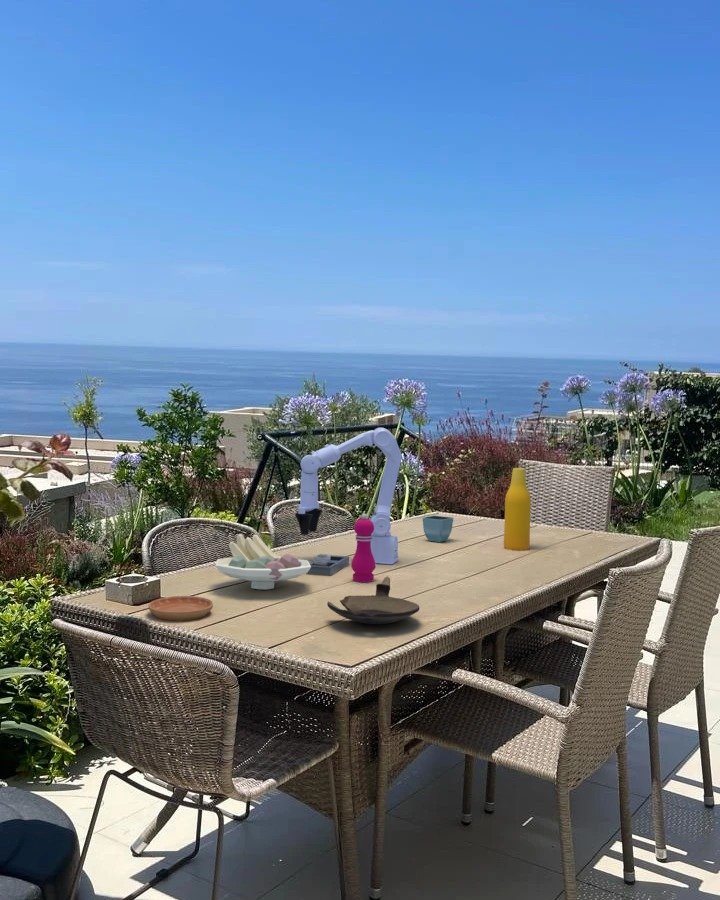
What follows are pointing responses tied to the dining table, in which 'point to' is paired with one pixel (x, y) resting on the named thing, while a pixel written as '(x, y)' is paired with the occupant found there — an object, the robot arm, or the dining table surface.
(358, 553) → the pepper mill
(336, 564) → the blue-grey frame board
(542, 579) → the dining table surface
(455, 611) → the dining table surface
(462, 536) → the dining table surface
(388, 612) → the oil lamp
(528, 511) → the beer bottle
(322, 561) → the grey metal block
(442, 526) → the flower pot
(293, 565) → the dish with food
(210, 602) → the saucer
